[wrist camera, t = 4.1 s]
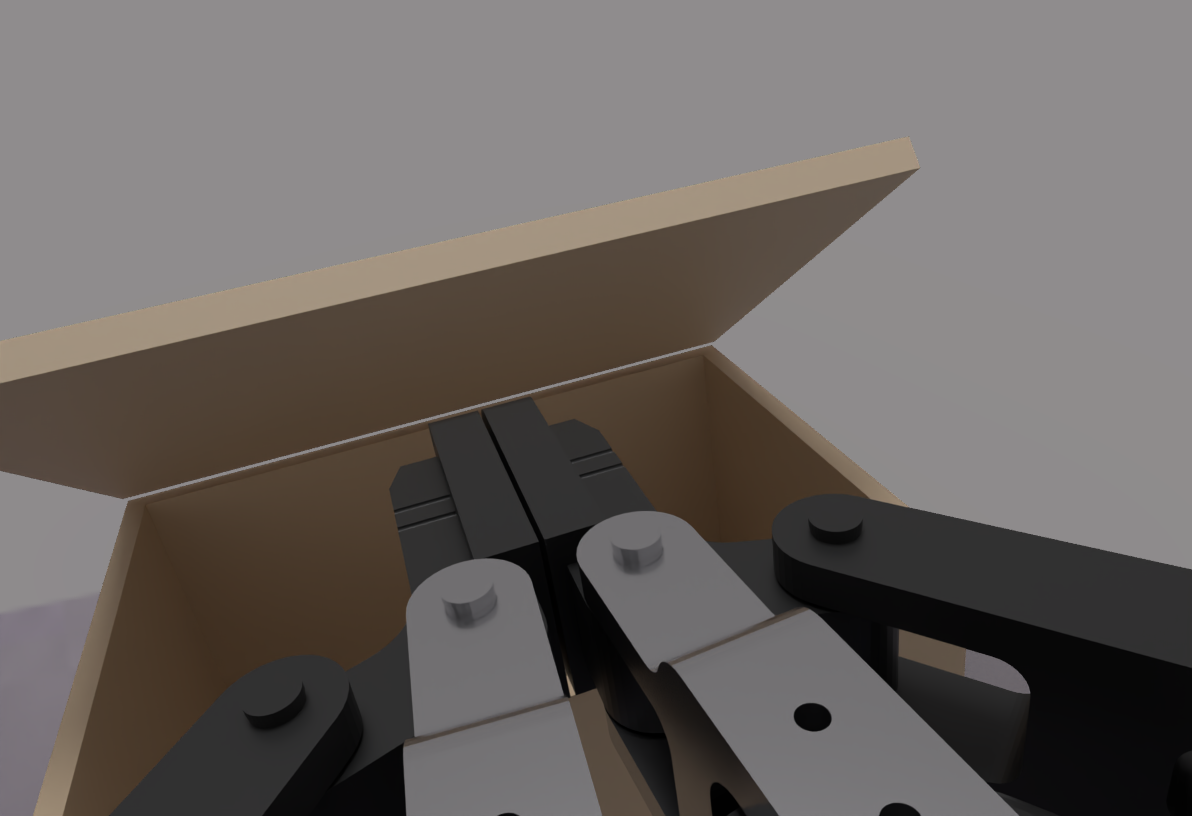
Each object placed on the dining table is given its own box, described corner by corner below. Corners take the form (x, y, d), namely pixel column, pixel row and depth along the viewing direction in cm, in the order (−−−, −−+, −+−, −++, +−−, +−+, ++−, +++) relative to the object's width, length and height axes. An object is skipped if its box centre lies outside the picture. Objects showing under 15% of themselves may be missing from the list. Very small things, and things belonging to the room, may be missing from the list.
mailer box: (209, 1179, 18) (11, 888, 14) (236, 740, 28) (128, 500, 24) (952, 864, 21) (971, 558, 17) (732, 578, 32) (711, 345, 28)
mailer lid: (-190, 427, 12) (-199, 378, 12) (122, 498, 24) (117, 473, 24) (920, 167, 16) (906, 131, 16) (714, 341, 28) (707, 319, 28)
